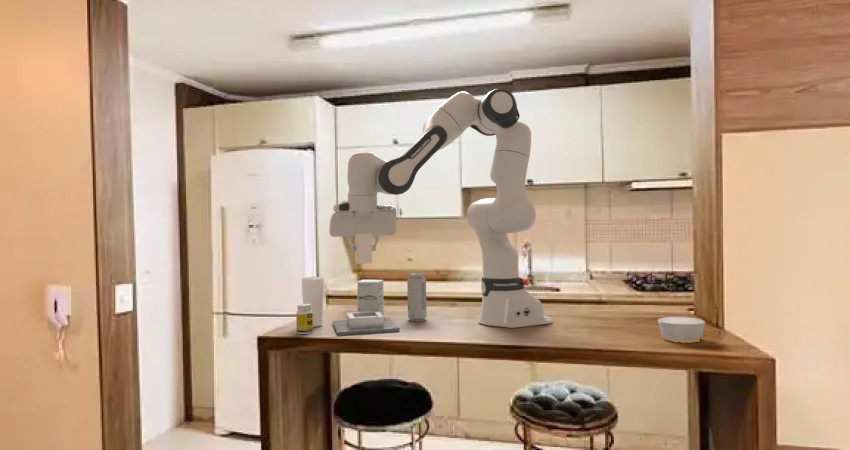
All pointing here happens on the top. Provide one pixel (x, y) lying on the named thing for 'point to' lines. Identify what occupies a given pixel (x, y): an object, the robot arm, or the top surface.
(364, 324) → the dock socket
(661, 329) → the ramekin
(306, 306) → the supplement bottle
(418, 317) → the energy drink can
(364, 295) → the supplement box
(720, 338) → the top surface
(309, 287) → the drinking glass
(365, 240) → the small white box
